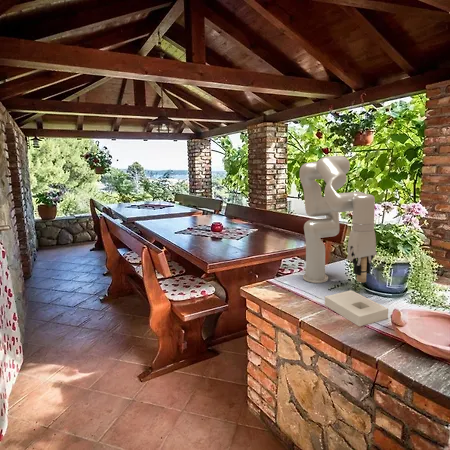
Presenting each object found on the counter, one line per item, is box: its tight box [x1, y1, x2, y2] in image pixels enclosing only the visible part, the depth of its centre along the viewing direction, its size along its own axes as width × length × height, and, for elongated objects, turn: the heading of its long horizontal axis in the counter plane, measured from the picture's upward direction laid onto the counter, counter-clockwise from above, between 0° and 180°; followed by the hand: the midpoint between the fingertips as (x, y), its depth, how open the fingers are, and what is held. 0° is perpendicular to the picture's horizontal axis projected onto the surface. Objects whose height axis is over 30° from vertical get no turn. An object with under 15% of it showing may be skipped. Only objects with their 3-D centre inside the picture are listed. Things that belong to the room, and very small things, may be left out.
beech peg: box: [356, 257, 368, 283], centre depth 124 cm, size 4×4×10 cm
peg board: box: [324, 289, 389, 328], centre depth 131 cm, size 20×14×4 cm
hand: (361, 272), depth 125 cm, fingers closed on beech peg, 3 cm apart
